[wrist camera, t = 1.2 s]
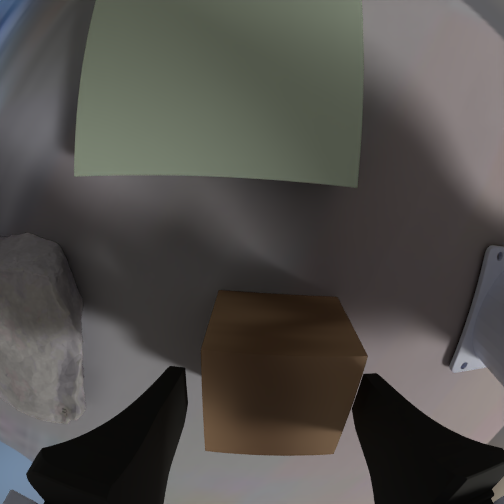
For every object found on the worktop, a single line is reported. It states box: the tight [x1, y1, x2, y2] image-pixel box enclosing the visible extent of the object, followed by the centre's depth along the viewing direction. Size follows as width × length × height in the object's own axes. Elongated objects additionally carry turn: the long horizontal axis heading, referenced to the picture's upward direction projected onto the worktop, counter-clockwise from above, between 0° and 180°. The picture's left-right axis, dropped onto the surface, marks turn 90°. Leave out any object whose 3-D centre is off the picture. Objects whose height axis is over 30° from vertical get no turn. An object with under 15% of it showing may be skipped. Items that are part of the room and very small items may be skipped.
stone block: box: [0, 232, 86, 424], centre depth 14 cm, size 12×5×10 cm
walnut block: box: [201, 290, 368, 456], centre depth 13 cm, size 6×6×5 cm
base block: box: [74, 0, 364, 188], centre depth 10 cm, size 10×10×3 cm
